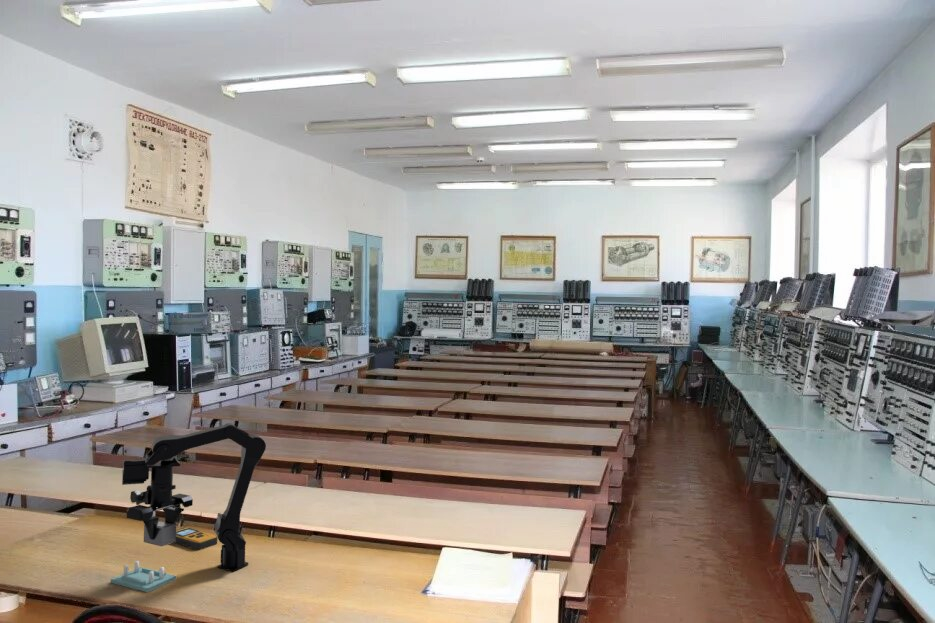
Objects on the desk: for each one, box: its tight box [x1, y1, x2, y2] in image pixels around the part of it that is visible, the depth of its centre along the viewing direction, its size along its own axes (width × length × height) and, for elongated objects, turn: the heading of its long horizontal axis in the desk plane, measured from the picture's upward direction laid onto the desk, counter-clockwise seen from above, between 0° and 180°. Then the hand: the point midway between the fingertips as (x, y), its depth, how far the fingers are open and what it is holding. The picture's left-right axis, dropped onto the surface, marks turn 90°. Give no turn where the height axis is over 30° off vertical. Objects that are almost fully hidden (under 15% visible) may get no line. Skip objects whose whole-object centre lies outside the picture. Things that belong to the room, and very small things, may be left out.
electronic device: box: [172, 526, 218, 551], centre depth 236 cm, size 8×16×3 cm, turn 58°
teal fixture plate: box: [110, 560, 177, 593], centre depth 203 cm, size 14×10×4 cm
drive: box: [143, 520, 177, 547], centre depth 207 cm, size 7×5×5 cm
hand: (159, 536), depth 207 cm, fingers closed on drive, 5 cm apart
